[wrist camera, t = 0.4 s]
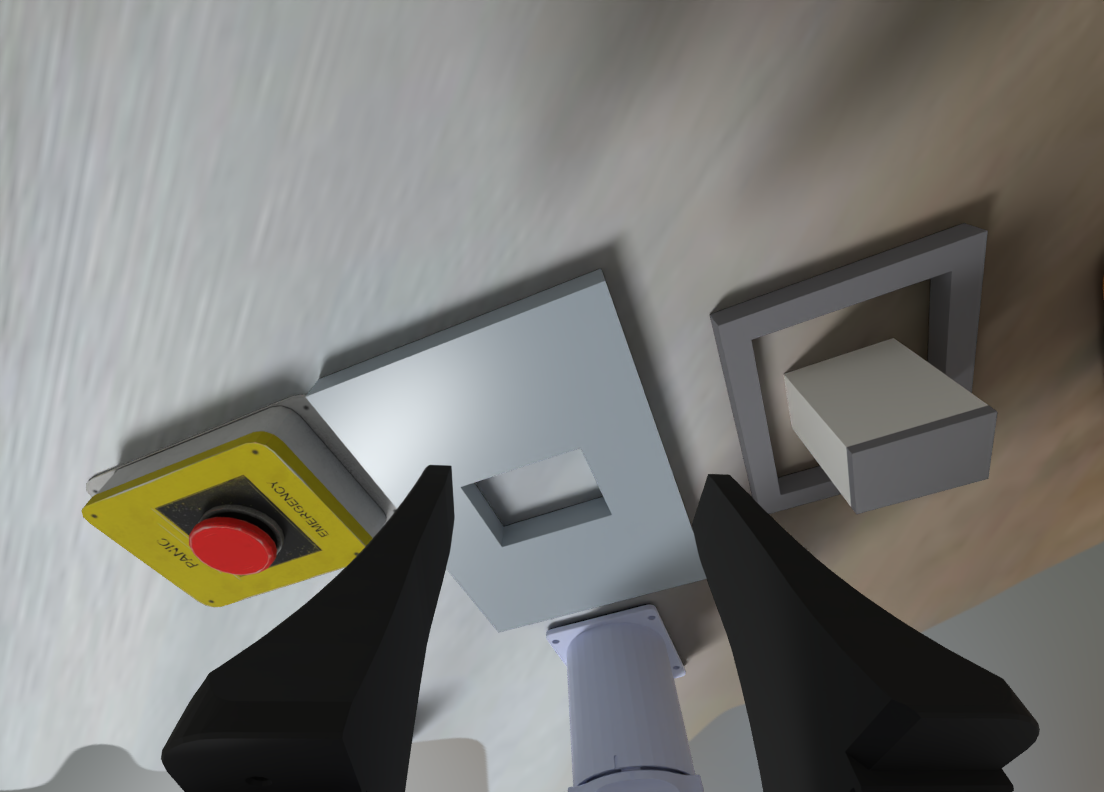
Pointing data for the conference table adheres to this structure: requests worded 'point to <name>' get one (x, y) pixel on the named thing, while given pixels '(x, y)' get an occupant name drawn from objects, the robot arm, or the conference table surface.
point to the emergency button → (243, 505)
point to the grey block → (889, 425)
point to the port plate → (526, 451)
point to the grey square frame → (938, 256)
